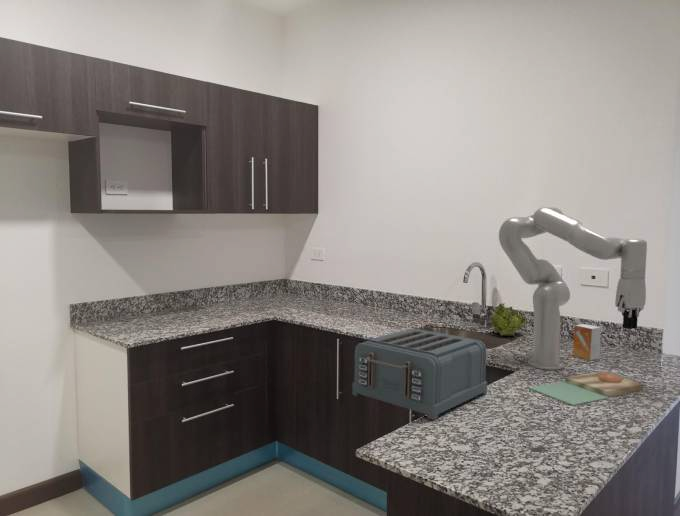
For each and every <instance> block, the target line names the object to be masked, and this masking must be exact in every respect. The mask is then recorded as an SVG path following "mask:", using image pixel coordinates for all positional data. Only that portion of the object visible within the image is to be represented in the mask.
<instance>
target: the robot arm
mask: <svg viewBox="0 0 680 516" xmlns="http://www.w3.org/2000/svg"><path fill="white" fill-rule="evenodd" d="M545 233H548V234H550V235H552V236H554V237H557V238H559V239H561V240H563V241H565V242H567V243H568V244H569V245H572V246H573V247H574V248H576V249H578V250H580V251H582V252H583V253H585V254H587V255H589V256H591V257H594V258H597V259H599V260H602V261H607V260H615V259H620V275H619V277H620V278H618V282H617V286H616V291H615V292H616V293H615V302H614V303H615V304H614V305H615V307H617V311H618V312H619V313H621V315H622V328H623V329H626V330H627V329H628V330H633V329H635V330H636V329H638V320H639V319H638V318H639V317H640V316H639V315H640V313H641V311H643V310H644V308H645V305H646V301H647V299H646V297H647V296H646V295H647V292H646V291H647V287H646V286H647V285H646V265H647V252H648V251H647V250H648V243H647V241H646V240H645V239H641V238H639V239H637V238H626V239H625V238H618V237H604V236H603V235H600V234H598V233H595V232H593V231H591V230H588V228H586V227H584V226H583V223H582V222H581V221H580V220H577V219H576V218H573V217H571V216H568V215H566V214H564V213H563V211H562V210H561V209H559V208H556V207H553V206H552V207H551V206H550V207H548V206H542V207H540V208H537V210H536V211H534V213H533V214H531V215H528V216H514V217H509V218H508V219H506V220H504V221H503V223H502V224H501V226H500V228H499V231H498V242H499V244H500V246H501V248H502V250H503V251H504V253H505V254H506V256H507V257H508V259H509V260H510V262H511V264H512V265H513V267H514V268H515V270H516V271H517V273H518V274H519V276H520V277H521V279H522V280H523V281H524V283H526V284H527V285H532V286H533V285H537V286H538V287H537V288H536V289H535V290H534V292H533V294H532V305H533V340H532V341H533V342H532V350H530V349H529V350H528V351H527V352H526V354H525V355H526V356H528V357H530V359H529V360H528V361H527V364H528V366H530V367H532V368H534V369H535V368H536V369H540V370H547V371H557V370H561V369H563V368H564V364H563V362H561V361H560V347H561V346H560V345H561V343H560V341H561V324H562V323H561V321H562V320H561V312H560V307H562V306H564V305H566V304H567V303H568V302H569V300H570V298H571V292H570V289H569V287H568V285H567V283H566V282H565V280H564V279H563V278H562V277H561V275H560V273H559V272H558V271H557V269H556V268H555V266H554V265H553V264H552V263H551V262H550V261H548V260H546V259H543V258H542V259H540V258H539V259H538V258H537V257H536V256H535V255H534V252H532V250H531V249H530V247H529V246H528V245H527V244H526V243H525V241H523V239H529V238H533V237H537V236H538V235H539V236H540V235H542V234H545Z"/></svg>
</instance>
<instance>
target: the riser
mask: <svg viewBox="0 0 680 516" xmlns="http://www.w3.org/2000/svg"><path fill="white" fill-rule="evenodd" d="M602 372H603V371H602V370H601V371H597V372H596V371H595V372H589V373H585V374H579V375H572V376H568V377H567V376H566V377H565V378H564V380H565V381H564V382H566V383H569V384H572V385H575V386H578V387H581V388H584V389H587V390H589V391H592V392H595V393H598V394H601V395H604V396H607V397H609V398H611V397H614V396H615V397H616V396H619V395H625V394H630V393H636V392H639V391H643V390H644V383H640V382H638V381H635V380H631V379H628V378H625V377H621V382H619V383H610V382H605V381H601V380H599V379H598V374H599V373H602Z"/></svg>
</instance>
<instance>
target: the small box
mask: <svg viewBox="0 0 680 516" xmlns="http://www.w3.org/2000/svg"><path fill="white" fill-rule="evenodd" d="M573 329H574V330H573V348H572V356H573V357H576V356H577V358H580V359H584V360H587V359H588V360H587V361H593V360H599V359H600V355H601V354H600V353H601V335H602V334H601V333H602V326H597V325H593V324H586V323H581V324H574V328H573ZM598 358H599V359H598Z"/></svg>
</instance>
